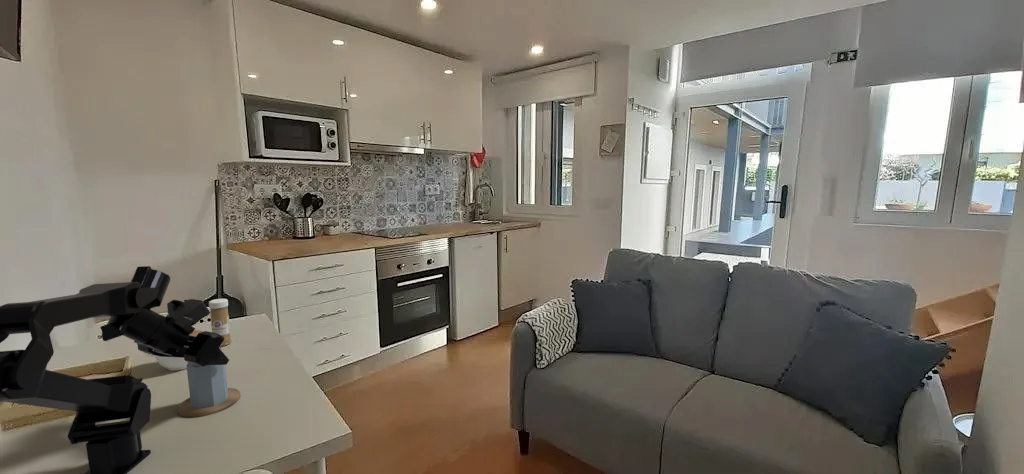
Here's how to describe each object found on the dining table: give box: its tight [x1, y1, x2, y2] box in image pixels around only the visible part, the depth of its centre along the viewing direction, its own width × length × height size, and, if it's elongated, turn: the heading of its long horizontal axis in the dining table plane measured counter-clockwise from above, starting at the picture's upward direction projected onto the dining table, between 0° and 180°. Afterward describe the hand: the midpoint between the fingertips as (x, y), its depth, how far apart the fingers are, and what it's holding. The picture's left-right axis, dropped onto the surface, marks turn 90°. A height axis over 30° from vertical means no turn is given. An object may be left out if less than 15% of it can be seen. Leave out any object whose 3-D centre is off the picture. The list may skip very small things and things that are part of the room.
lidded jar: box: [154, 329, 204, 372], centre depth 109 cm, size 11×11×9 cm
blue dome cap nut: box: [186, 362, 229, 409], centre depth 90 cm, size 6×6×10 cm
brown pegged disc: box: [177, 387, 241, 418], centre depth 91 cm, size 11×11×4 cm
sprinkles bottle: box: [208, 298, 232, 348], centre depth 122 cm, size 5×5×13 cm
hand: (212, 359), depth 91 cm, fingers open, 9 cm apart
